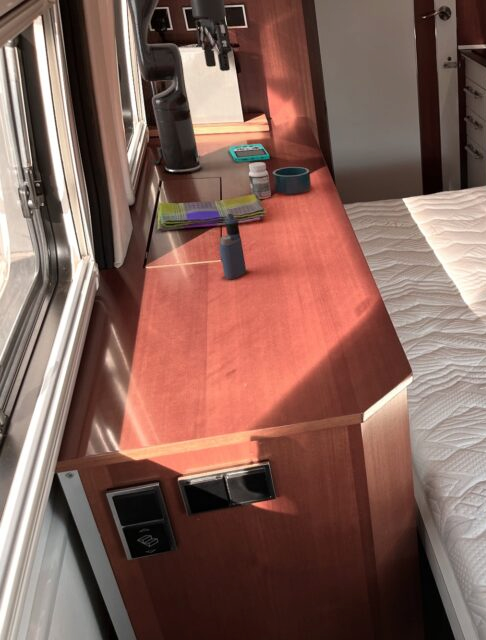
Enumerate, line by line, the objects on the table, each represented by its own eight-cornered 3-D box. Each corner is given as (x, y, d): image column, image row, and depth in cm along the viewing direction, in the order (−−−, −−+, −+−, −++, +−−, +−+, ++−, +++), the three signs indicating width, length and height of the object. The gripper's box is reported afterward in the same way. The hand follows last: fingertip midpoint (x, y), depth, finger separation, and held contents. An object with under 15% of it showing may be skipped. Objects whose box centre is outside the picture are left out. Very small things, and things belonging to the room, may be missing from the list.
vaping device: (249, 271, 164) (239, 213, 158) (233, 280, 160) (223, 221, 154) (238, 269, 165) (228, 212, 159) (222, 278, 160) (211, 220, 155)
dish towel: (158, 210, 198) (156, 199, 196) (261, 201, 205) (260, 190, 204) (158, 233, 184) (155, 221, 182) (268, 222, 191) (267, 210, 190)
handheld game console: (262, 147, 254) (261, 142, 254) (270, 159, 242) (270, 154, 241) (229, 150, 251) (228, 145, 250) (236, 162, 238) (235, 157, 238)
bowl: (269, 189, 214) (266, 170, 212) (301, 183, 219) (299, 165, 217) (285, 197, 208) (282, 178, 206) (317, 191, 213) (315, 172, 211)
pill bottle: (254, 194, 211) (249, 161, 206) (272, 193, 211) (268, 161, 207) (250, 199, 207) (245, 166, 202) (269, 199, 207) (264, 166, 203)
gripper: (234, -4, 189) (244, 70, 197) (210, -7, 198) (221, 63, 206) (202, -2, 185) (214, 73, 193) (179, -6, 194) (192, 66, 202)
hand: (218, 68), depth 199 cm, fingers open, 8 cm apart
